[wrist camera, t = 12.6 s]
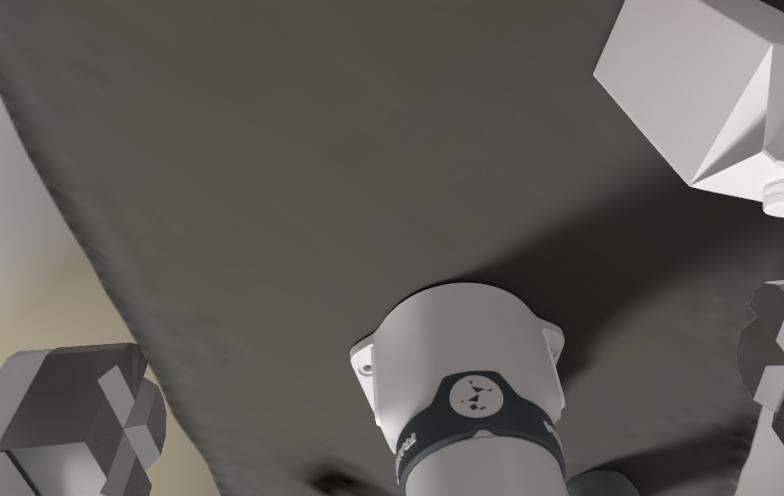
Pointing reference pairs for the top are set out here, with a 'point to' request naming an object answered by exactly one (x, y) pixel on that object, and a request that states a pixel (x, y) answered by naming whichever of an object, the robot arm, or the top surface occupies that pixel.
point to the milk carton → (705, 90)
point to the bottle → (601, 484)
